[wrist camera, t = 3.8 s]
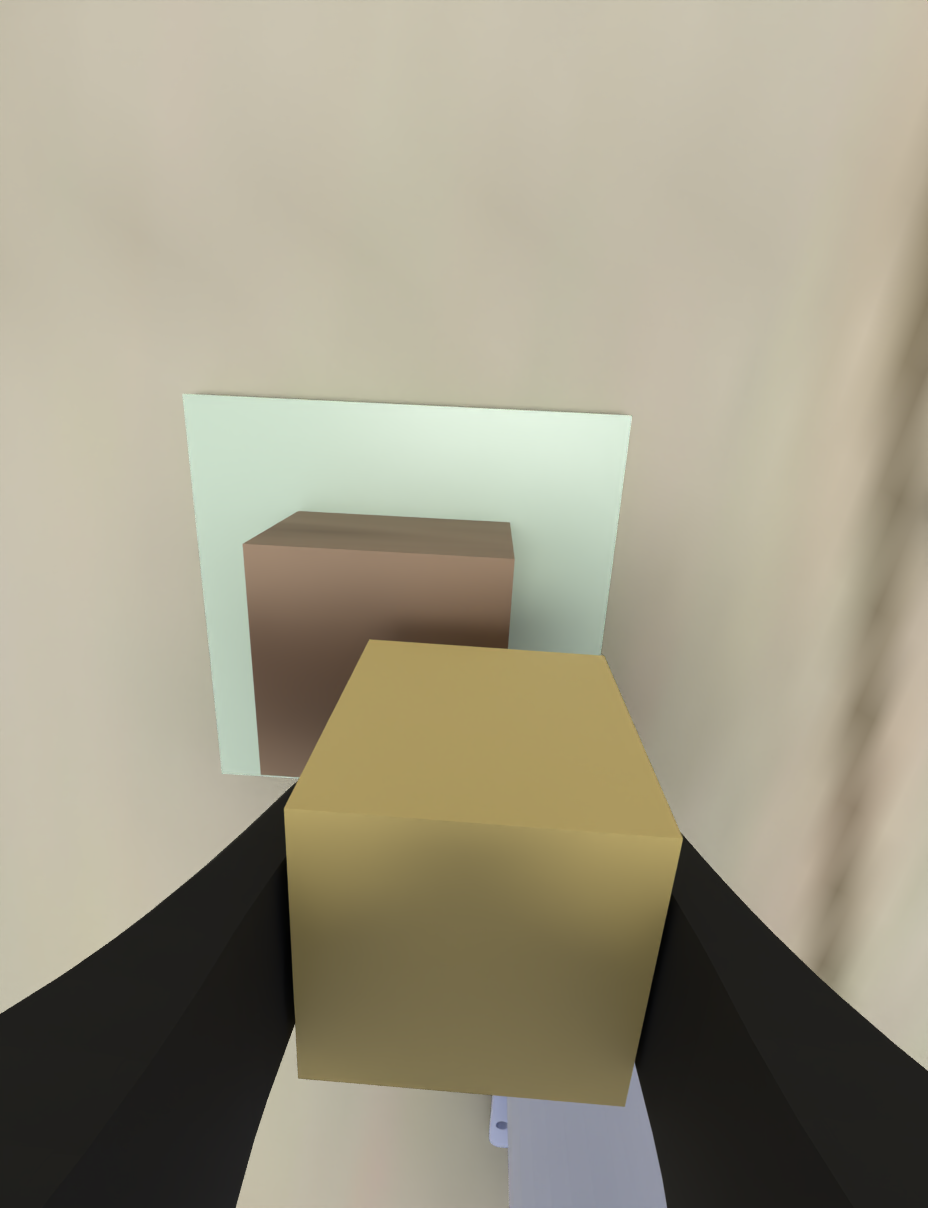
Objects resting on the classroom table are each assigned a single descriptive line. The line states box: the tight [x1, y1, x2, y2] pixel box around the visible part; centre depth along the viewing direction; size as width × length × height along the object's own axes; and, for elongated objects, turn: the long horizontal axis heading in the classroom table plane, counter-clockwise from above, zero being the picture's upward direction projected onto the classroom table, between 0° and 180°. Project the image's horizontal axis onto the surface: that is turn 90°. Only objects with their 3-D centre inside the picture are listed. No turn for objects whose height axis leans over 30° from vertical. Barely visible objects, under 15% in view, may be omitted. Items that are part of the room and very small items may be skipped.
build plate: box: [182, 394, 632, 779], centre depth 18 cm, size 12×12×1 cm
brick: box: [284, 639, 683, 1107], centre depth 10 cm, size 4×4×5 cm
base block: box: [243, 511, 515, 777], centre depth 16 cm, size 6×6×4 cm
